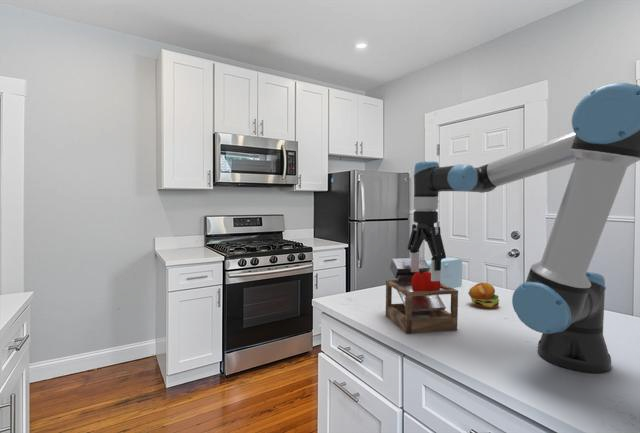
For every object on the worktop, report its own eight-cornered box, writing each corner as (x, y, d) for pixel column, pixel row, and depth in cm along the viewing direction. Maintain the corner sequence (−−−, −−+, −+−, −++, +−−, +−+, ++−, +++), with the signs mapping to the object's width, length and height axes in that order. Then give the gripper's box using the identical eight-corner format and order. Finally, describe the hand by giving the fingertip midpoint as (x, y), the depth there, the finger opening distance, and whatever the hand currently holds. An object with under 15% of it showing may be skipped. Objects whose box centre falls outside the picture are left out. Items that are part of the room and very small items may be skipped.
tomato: (429, 293, 116) (427, 270, 117) (446, 295, 107) (444, 271, 108) (405, 295, 113) (403, 272, 114) (421, 297, 104) (419, 273, 105)
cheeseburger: (507, 307, 130) (503, 283, 129) (486, 317, 126) (482, 292, 125) (485, 300, 139) (481, 277, 138) (465, 309, 136) (461, 285, 134)
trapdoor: (387, 271, 124) (390, 258, 121) (420, 270, 127) (424, 257, 124) (407, 311, 108) (412, 298, 105) (445, 309, 111) (450, 296, 107)
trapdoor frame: (457, 329, 107) (458, 290, 107) (407, 333, 104) (407, 293, 104) (429, 312, 124) (430, 278, 124) (385, 315, 121) (386, 280, 120)
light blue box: (430, 293, 151) (430, 263, 150) (420, 290, 155) (420, 261, 155) (463, 286, 163) (463, 259, 162) (452, 284, 168) (453, 257, 167)
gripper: (459, 211, 98) (457, 284, 99) (418, 209, 122) (417, 268, 123) (435, 211, 97) (434, 285, 97) (398, 209, 121) (397, 268, 122)
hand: (424, 276), depth 110 cm, fingers open, 13 cm apart
